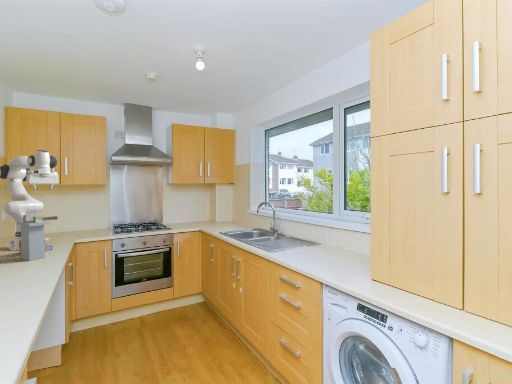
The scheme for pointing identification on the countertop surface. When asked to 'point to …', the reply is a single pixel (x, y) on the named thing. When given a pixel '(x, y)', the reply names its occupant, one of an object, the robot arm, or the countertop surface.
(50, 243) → the stack of blocks
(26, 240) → the grey pedestal
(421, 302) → the countertop surface
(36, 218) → the sage cube
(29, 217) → the steel-headed mallet
